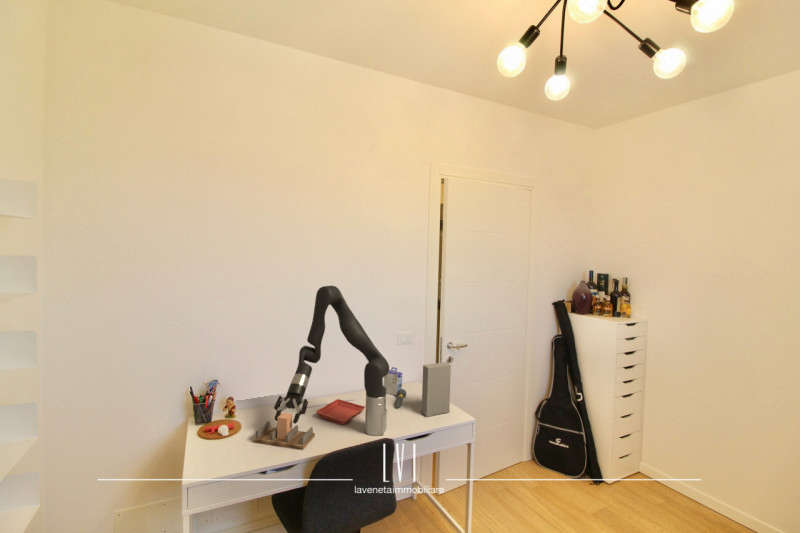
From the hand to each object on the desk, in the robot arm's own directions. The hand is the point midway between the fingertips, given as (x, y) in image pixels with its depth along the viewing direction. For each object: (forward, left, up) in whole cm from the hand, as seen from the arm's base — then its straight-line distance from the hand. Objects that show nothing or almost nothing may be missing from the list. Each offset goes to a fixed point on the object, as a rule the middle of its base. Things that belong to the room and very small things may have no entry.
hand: (285, 421), depth 152 cm
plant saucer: (-15, -28, -8) cm, 33 cm away
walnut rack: (0, 0, -8) cm, 8 cm away
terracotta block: (0, 0, -6) cm, 6 cm away
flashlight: (-41, -51, -8) cm, 66 cm away
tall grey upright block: (-61, -43, -8) cm, 75 cm away
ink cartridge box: (-34, -62, -8) cm, 71 cm away
